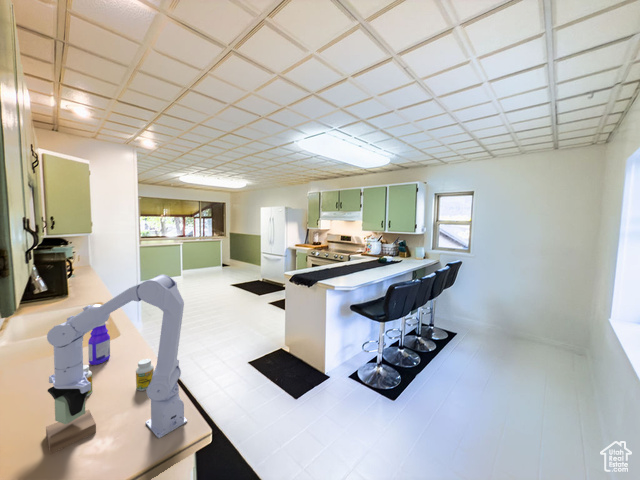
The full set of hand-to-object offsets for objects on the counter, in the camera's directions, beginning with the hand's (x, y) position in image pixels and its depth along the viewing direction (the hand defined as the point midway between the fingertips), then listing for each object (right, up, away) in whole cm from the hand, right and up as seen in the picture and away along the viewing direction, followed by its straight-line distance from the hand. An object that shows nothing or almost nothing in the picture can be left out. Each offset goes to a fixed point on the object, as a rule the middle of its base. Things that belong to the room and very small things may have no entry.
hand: (70, 411), depth 72 cm
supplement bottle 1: (-13, -6, +17) cm, 22 cm away
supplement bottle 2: (+6, -6, +22) cm, 24 cm away
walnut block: (0, -7, 0) cm, 7 cm away
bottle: (-25, -5, +39) cm, 46 cm away
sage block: (0, -2, 0) cm, 2 cm away
